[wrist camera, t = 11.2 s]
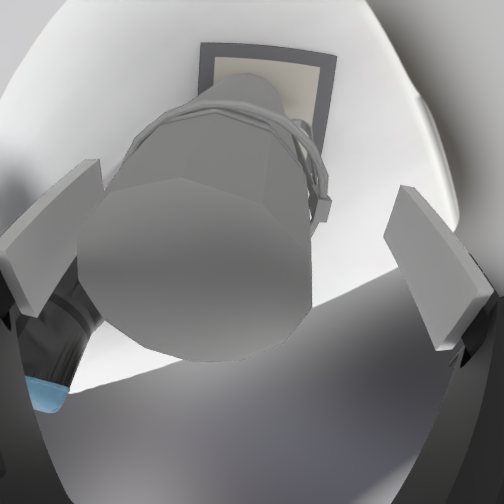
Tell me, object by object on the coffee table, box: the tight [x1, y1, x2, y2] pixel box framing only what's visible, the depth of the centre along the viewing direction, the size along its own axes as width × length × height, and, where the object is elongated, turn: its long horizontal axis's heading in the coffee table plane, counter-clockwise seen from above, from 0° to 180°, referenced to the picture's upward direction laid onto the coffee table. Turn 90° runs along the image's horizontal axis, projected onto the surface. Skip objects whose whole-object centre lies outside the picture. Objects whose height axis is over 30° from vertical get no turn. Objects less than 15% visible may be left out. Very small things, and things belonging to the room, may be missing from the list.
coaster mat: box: [198, 43, 337, 173], centre depth 28 cm, size 13×13×1 cm
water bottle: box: [77, 73, 332, 362], centre depth 18 cm, size 9×8×25 cm
